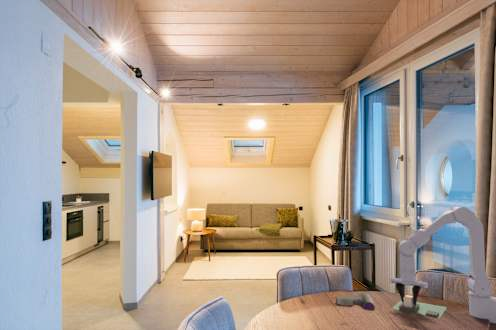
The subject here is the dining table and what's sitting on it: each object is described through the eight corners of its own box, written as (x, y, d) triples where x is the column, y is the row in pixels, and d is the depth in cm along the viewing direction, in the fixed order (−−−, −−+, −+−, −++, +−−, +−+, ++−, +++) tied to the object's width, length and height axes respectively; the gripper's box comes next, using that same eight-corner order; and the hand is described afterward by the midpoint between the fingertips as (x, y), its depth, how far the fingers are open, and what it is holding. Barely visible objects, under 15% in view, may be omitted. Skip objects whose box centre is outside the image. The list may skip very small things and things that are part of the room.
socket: (419, 308, 144) (419, 304, 144) (415, 312, 138) (414, 309, 138) (404, 305, 148) (403, 301, 148) (399, 309, 142) (399, 306, 142)
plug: (414, 308, 144) (413, 295, 144) (411, 311, 140) (411, 298, 141) (406, 306, 146) (406, 294, 146) (403, 309, 142) (403, 296, 143)
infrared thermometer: (336, 304, 156) (370, 303, 154) (339, 313, 144) (376, 312, 142) (335, 294, 157) (369, 292, 155) (338, 302, 145) (375, 301, 143)
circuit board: (447, 309, 145) (446, 305, 145) (440, 320, 132) (439, 315, 133) (402, 301, 156) (401, 297, 156) (391, 310, 144) (391, 306, 144)
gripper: (387, 269, 146) (388, 302, 145) (424, 274, 137) (426, 309, 136) (391, 266, 151) (393, 298, 150) (428, 270, 142) (429, 304, 141)
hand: (409, 303), depth 143 cm, fingers open, 4 cm apart
